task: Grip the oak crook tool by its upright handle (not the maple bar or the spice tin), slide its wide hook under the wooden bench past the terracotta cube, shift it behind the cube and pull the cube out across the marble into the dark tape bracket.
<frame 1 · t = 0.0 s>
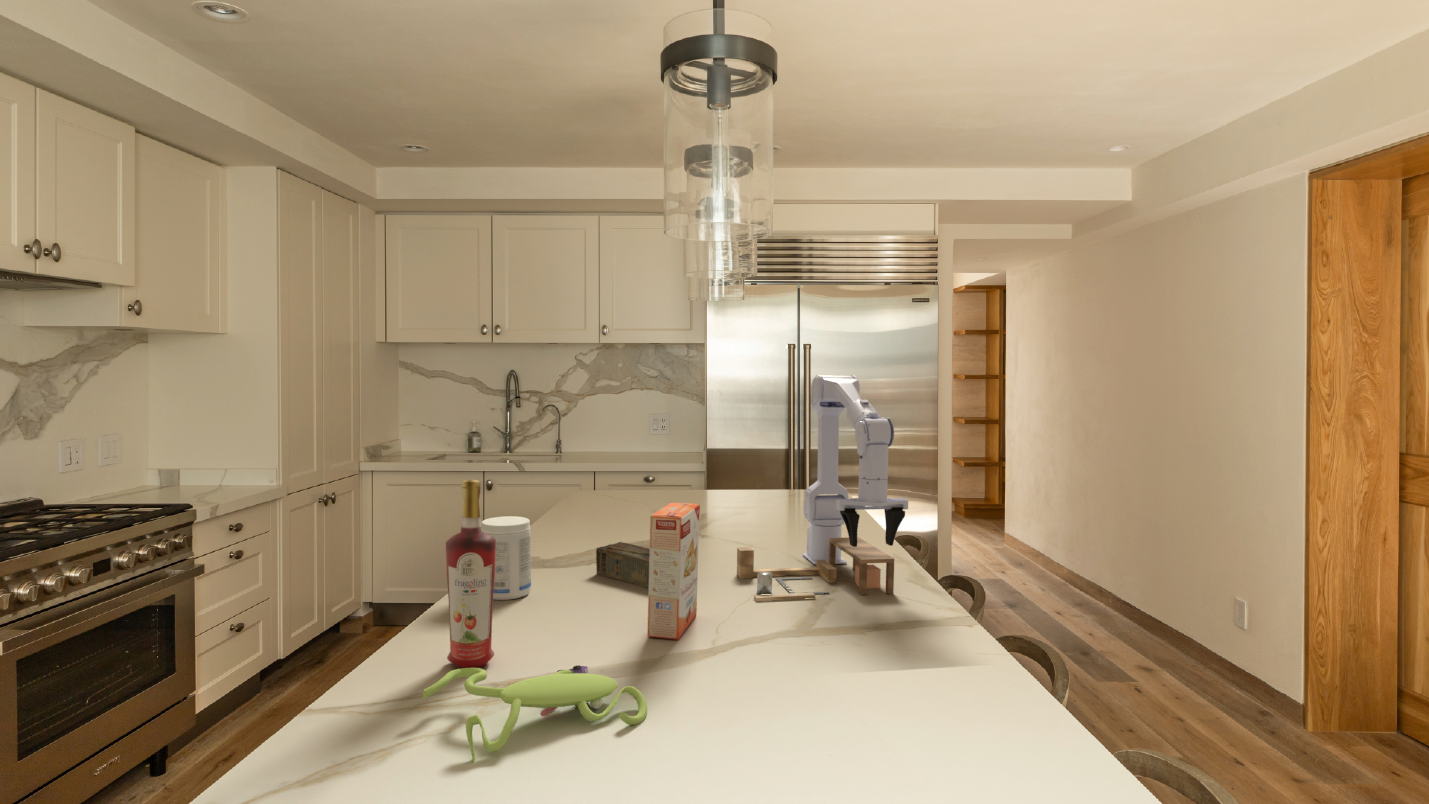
hand: (871, 545, 164), 10 cm above the countertop, tool pointing down, fingers open, 7 cm apart
maple bar: (784, 601, 161), on the countertop
spice tin: (764, 593, 165), on the countertop
tape bracket: (804, 586, 170), on the countertop
figurine: (533, 721, 106), on the countertop
liquor: (470, 665, 124), on the countertop
terracotta cube: (867, 586, 172), on the countertop
beverage carton: (639, 580, 174), on the countertop
supplement tub: (506, 595, 161), on the countertop
cracker box: (673, 627, 143), on the countertop
wooden bench: (859, 581, 175), on the countertop
oak crook: (745, 576, 177), on the countertop
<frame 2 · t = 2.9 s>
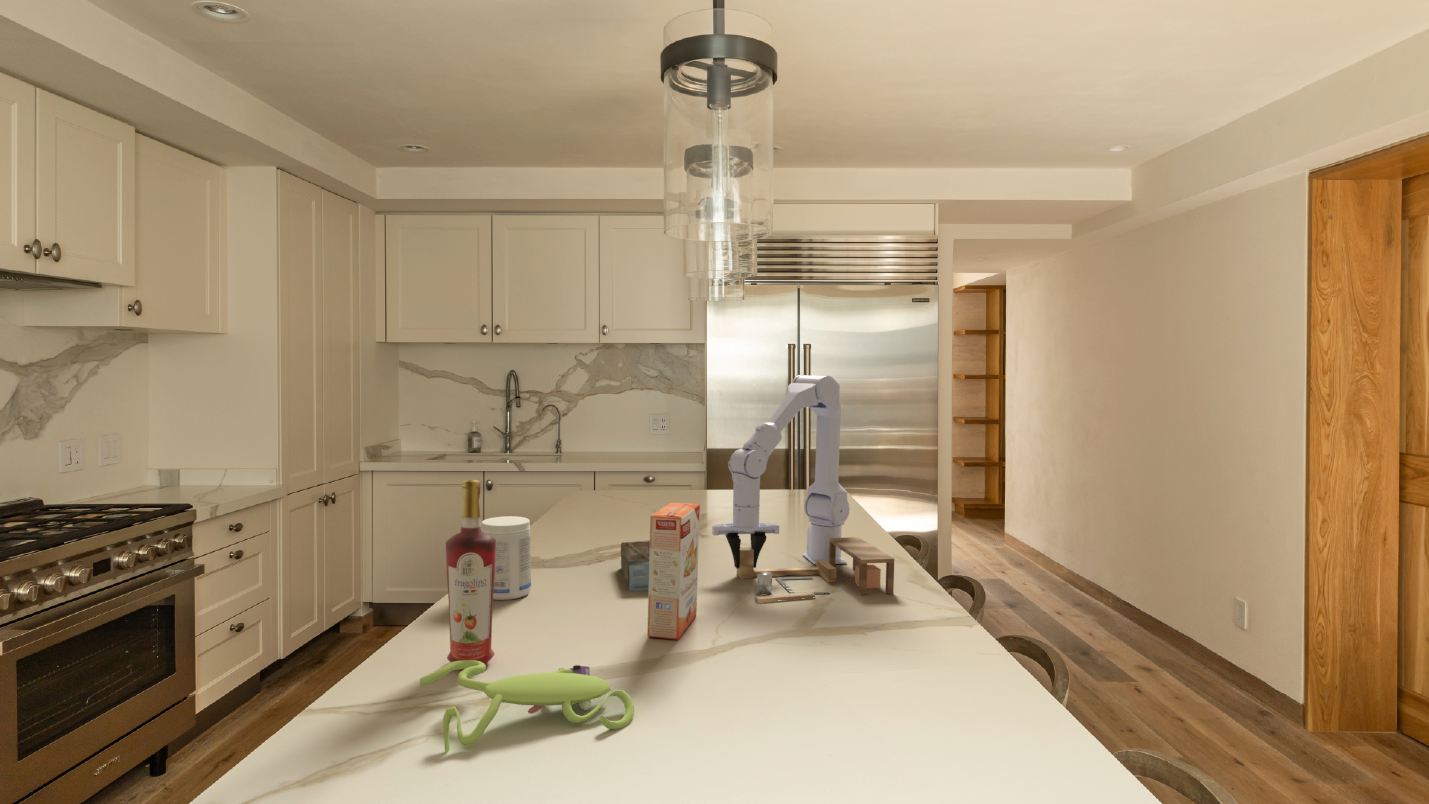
hand: (745, 567, 177), 2 cm above the countertop, tool pointing down, fingers closed on oak crook, 3 cm apart
figurine: (522, 717, 107), on the countertop
oak crook: (744, 576, 177), on the countertop, touching gripper
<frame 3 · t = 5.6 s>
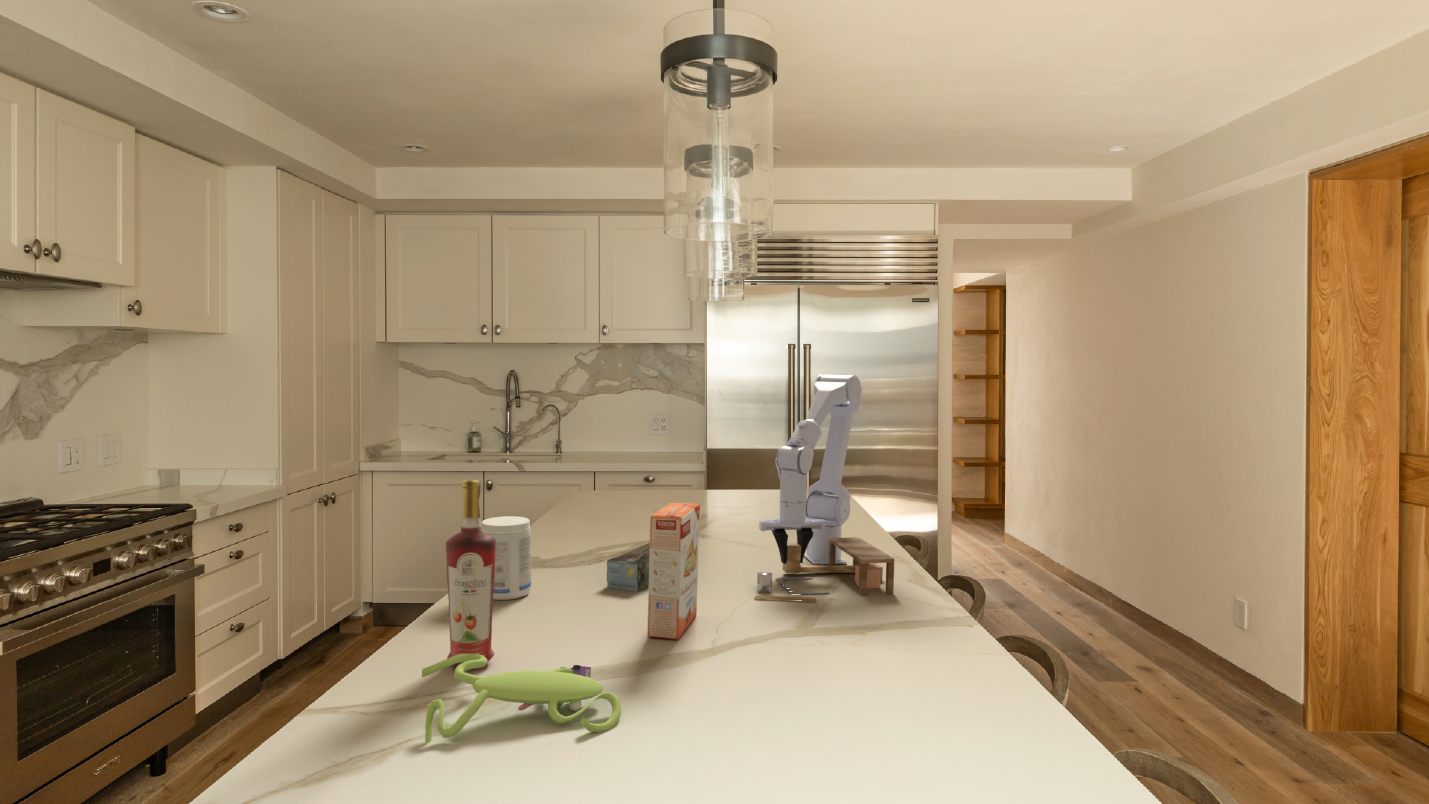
hand: (791, 562, 179), 3 cm above the countertop, tool pointing down, fingers closed on oak crook, 3 cm apart
figurine: (514, 713, 109), on the countertop
oak crook: (791, 571, 179), point 1 cm above the countertop, touching gripper
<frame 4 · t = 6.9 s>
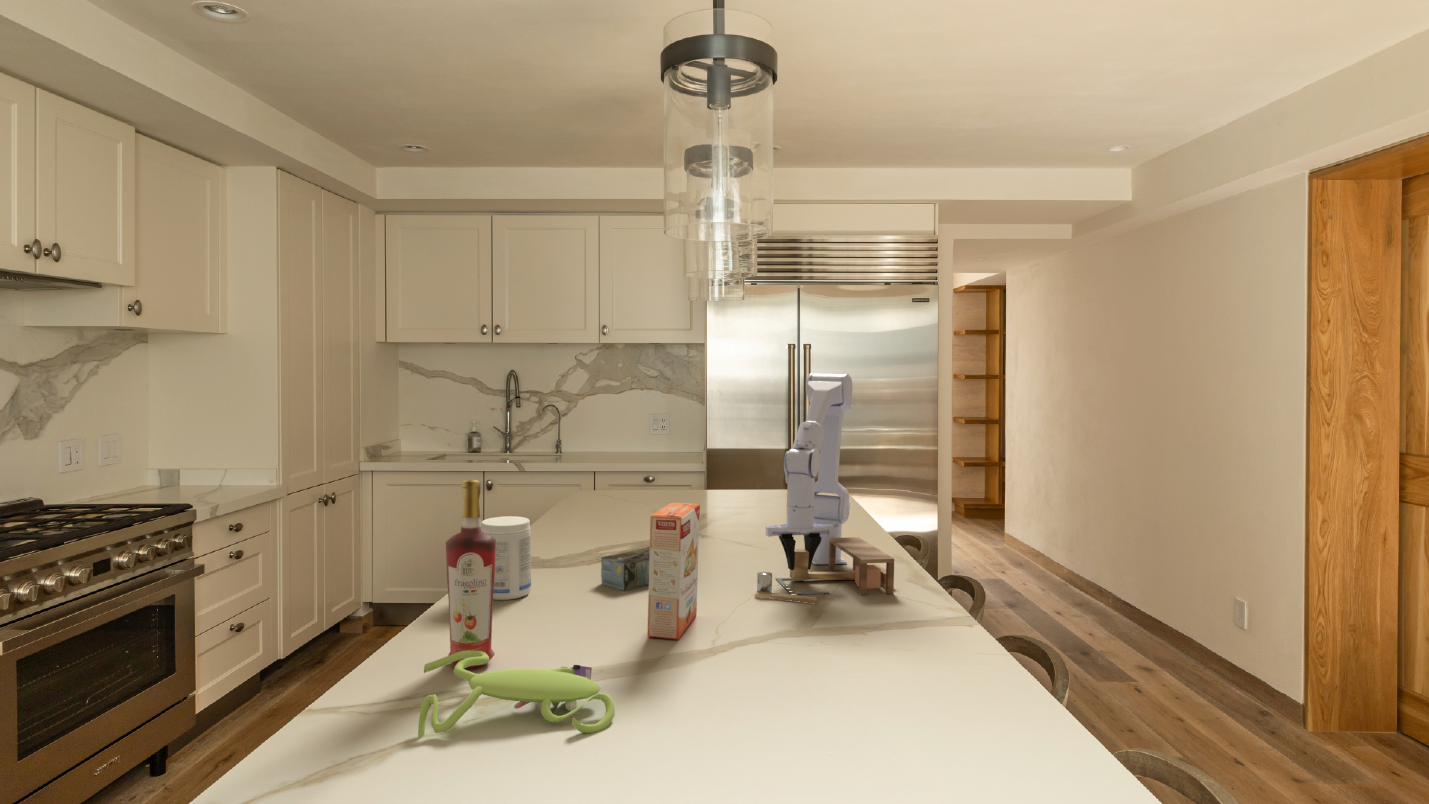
hand: (799, 568, 174), 3 cm above the countertop, tool pointing down, fingers closed on oak crook, 3 cm apart
oak crook: (798, 578, 174), point 1 cm above the countertop, touching gripper
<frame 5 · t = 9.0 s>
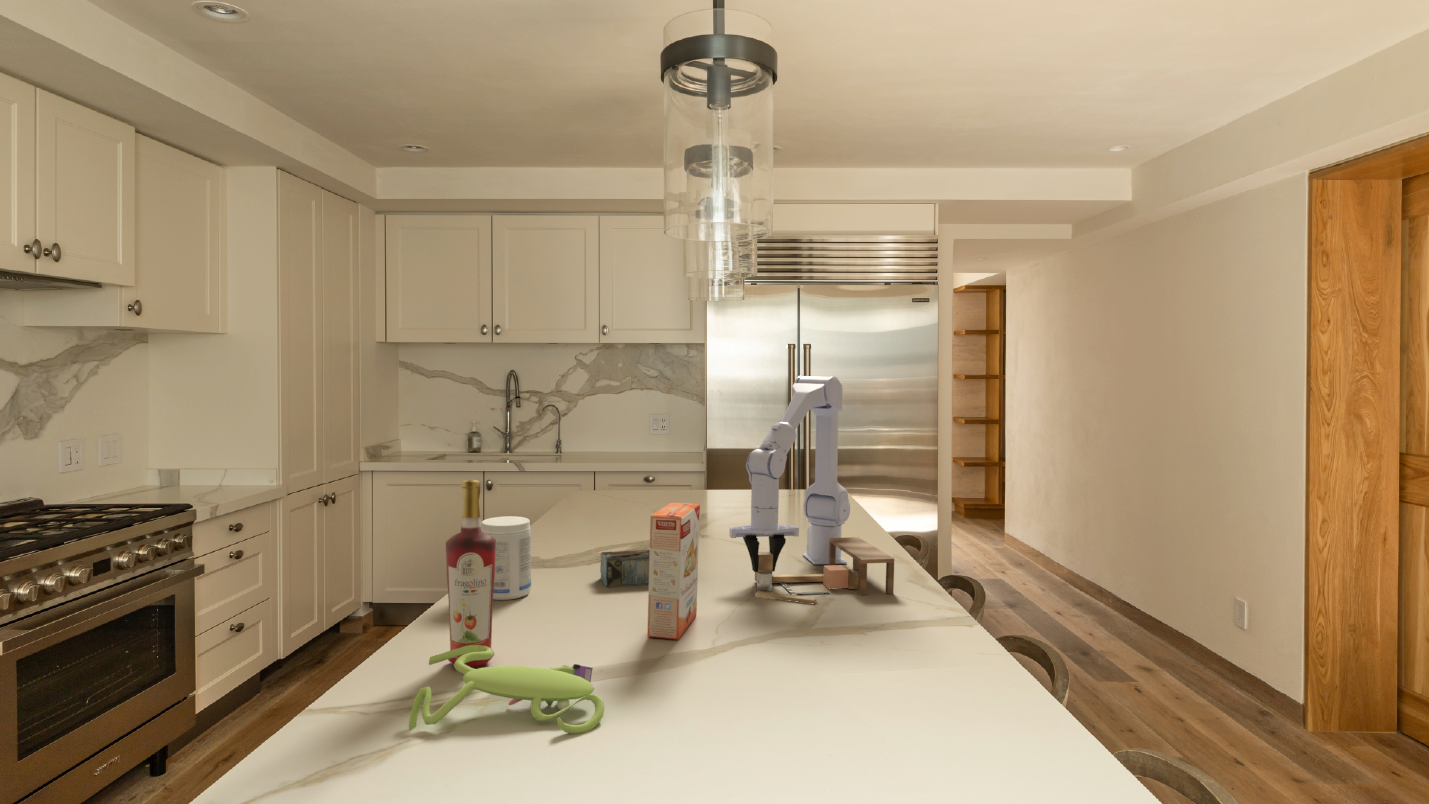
hand: (763, 570, 172), 3 cm above the countertop, tool pointing down, fingers closed on oak crook, 3 cm apart
figurine: (506, 707, 110), on the countertop
terracotta cube: (835, 586, 170), on the countertop
oak crook: (763, 581, 172), on the countertop, touching gripper
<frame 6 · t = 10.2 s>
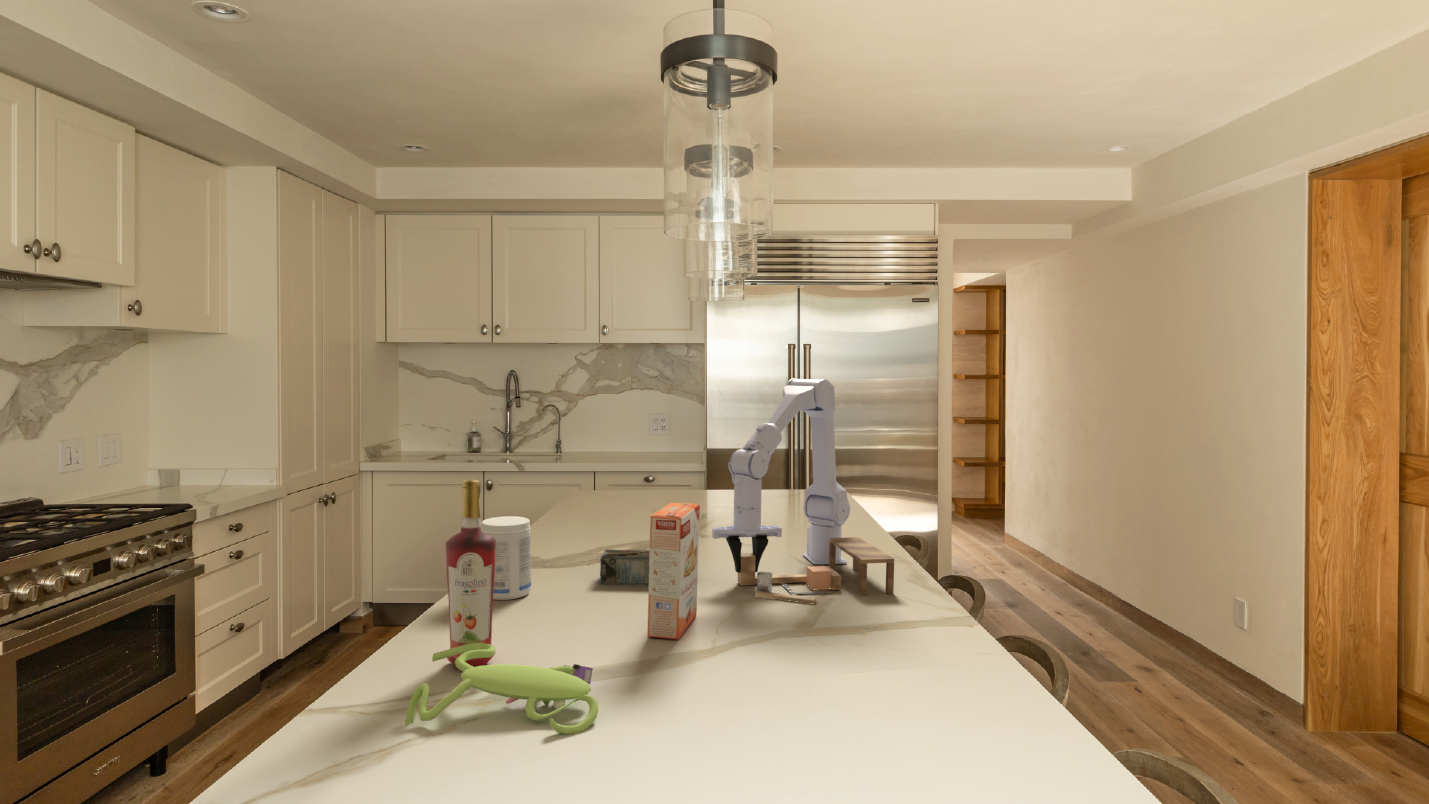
hand: (746, 571, 171), 3 cm above the countertop, tool pointing down, fingers closed on oak crook, 3 cm apart
terracotta cube: (818, 587, 170), on the countertop
oak crook: (746, 583, 171), on the countertop, touching gripper, tape bracket
when the fingers open (3 cm above the countertop, at t = 11.2 s): oak crook stays where it is, resting on tape bracket.
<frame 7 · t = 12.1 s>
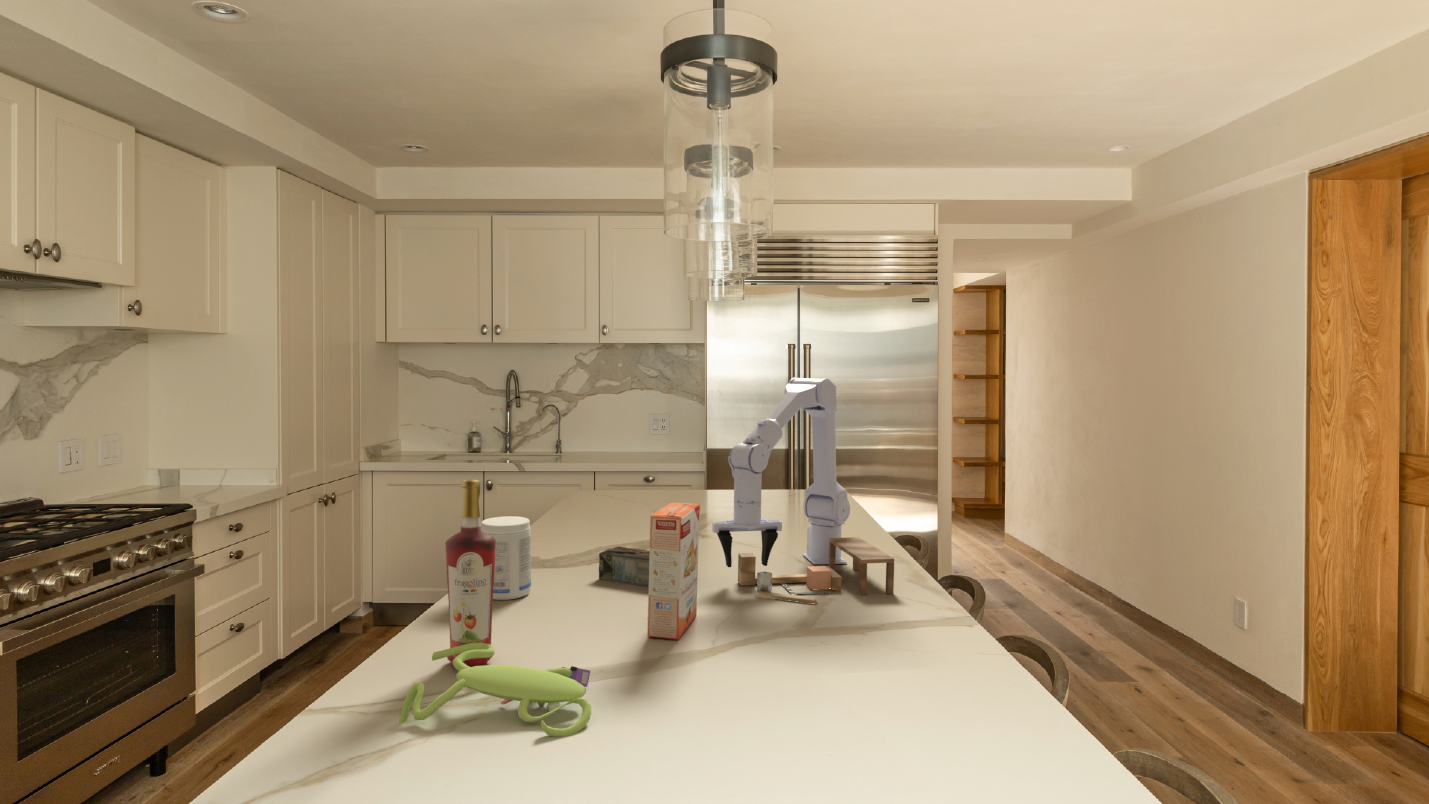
hand: (746, 565, 171), 4 cm above the countertop, tool pointing down, fingers open, 7 cm apart
oak crook: (746, 583, 171), resting on tape bracket
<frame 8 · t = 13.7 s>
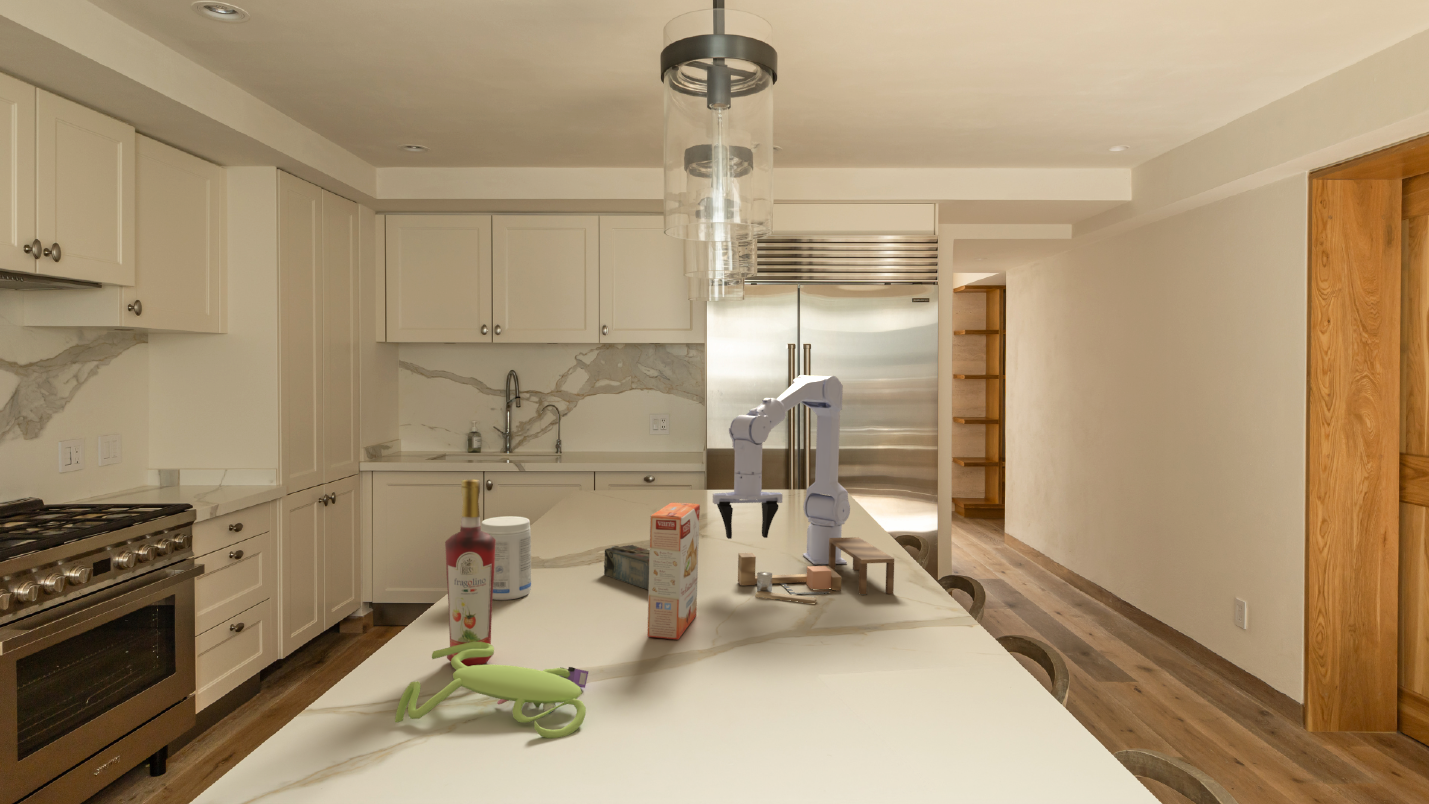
hand: (746, 537, 171), 10 cm above the countertop, tool pointing down, fingers open, 7 cm apart
at the end: terracotta cube inside the target area (0.6 cm from its centre), on the countertop; terracotta cube tilted 0°; the gripper is holding nothing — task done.
